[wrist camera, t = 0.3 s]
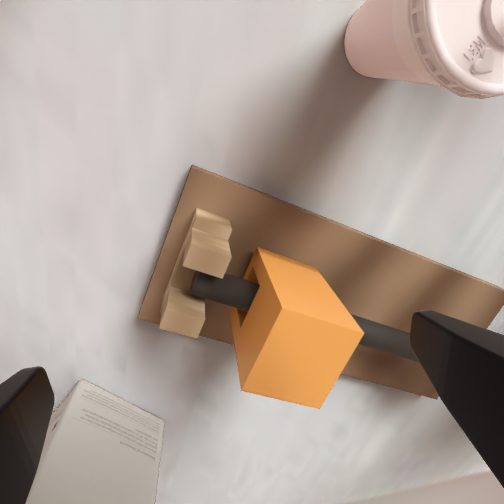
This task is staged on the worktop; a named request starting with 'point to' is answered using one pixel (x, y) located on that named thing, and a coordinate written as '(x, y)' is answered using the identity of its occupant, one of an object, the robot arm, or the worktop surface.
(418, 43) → the smoothie
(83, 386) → the supplement box
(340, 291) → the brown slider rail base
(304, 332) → the sleeve
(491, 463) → the robot arm
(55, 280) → the worktop surface
